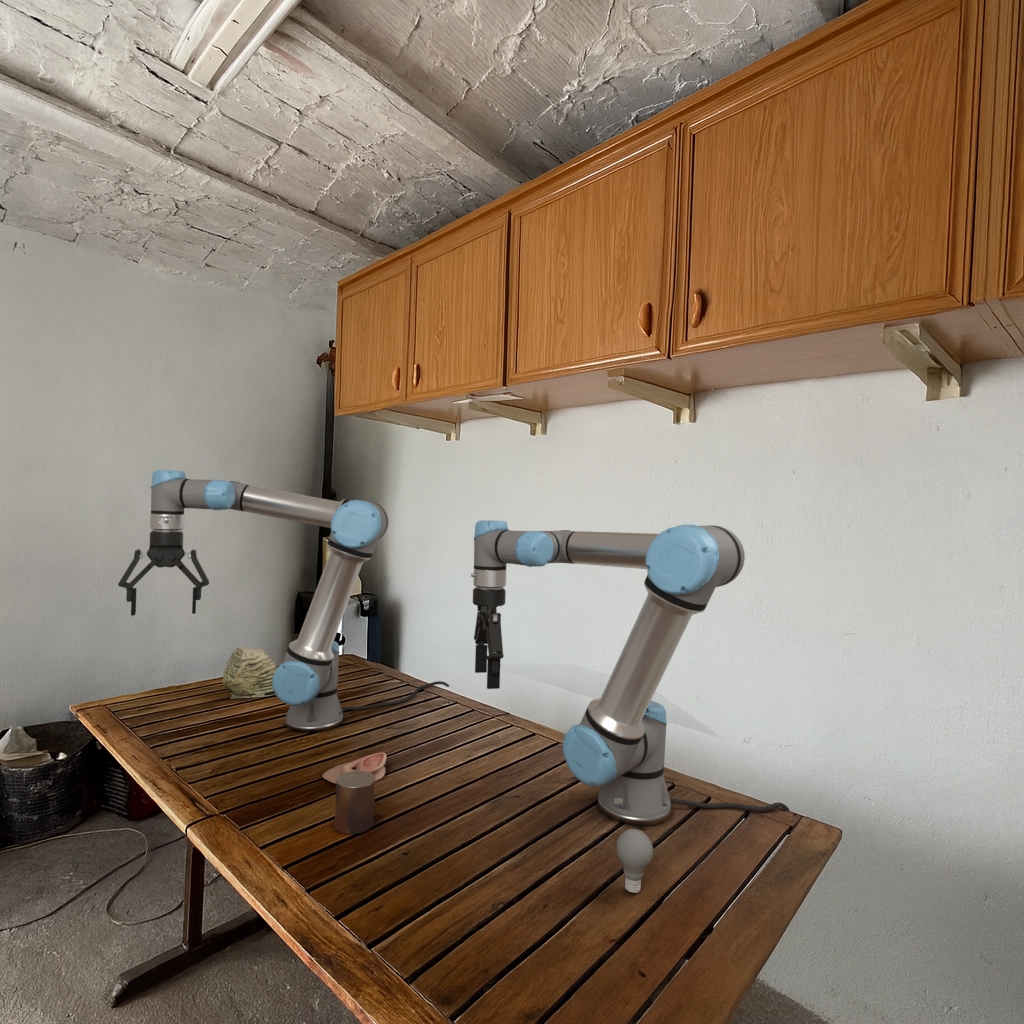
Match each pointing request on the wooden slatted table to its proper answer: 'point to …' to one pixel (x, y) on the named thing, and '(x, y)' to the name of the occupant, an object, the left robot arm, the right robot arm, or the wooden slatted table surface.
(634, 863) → the light bulb
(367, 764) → the anatomical model
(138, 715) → the wooden slatted table surface
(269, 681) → the fossil
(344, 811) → the canister
